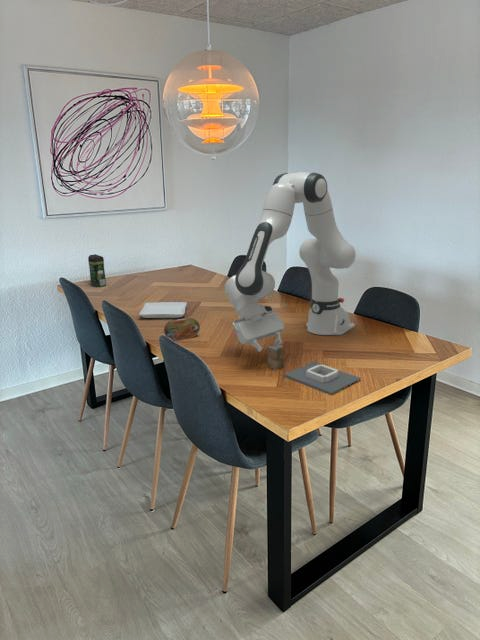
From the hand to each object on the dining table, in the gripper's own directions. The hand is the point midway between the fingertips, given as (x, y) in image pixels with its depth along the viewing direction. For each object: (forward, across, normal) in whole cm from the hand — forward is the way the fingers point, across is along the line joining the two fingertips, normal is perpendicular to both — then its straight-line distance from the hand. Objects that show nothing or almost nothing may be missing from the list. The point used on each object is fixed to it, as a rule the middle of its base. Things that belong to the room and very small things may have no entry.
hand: (270, 347), depth 178 cm
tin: (-27, -6, +38) cm, 47 cm away
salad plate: (-52, +9, +62) cm, 82 cm away
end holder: (+19, +4, -9) cm, 22 cm away
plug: (+6, 0, +3) cm, 7 cm away
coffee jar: (-106, +14, +116) cm, 158 cm away
